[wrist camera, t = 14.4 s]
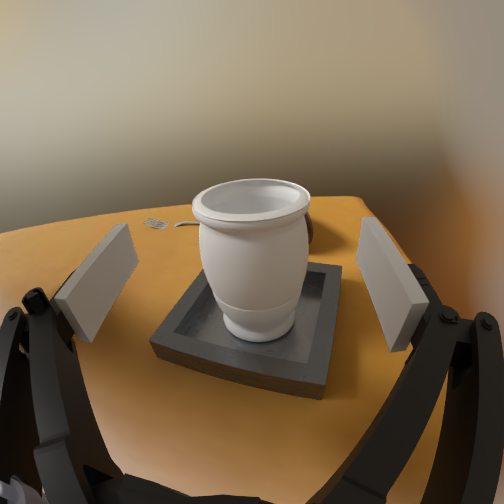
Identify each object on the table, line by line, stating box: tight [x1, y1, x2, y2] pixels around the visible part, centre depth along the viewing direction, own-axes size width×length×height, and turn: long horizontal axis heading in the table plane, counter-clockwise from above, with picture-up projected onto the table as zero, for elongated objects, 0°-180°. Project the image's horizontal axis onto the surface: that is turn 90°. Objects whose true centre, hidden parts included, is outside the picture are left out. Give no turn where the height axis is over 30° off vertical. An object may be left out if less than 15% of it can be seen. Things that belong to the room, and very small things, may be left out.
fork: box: [144, 218, 200, 229], centre depth 55 cm, size 3×24×2 cm, turn 81°
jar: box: [192, 179, 310, 342], centre depth 28 cm, size 11×10×15 cm
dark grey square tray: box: [149, 262, 342, 400], centre depth 31 cm, size 18×18×3 cm
